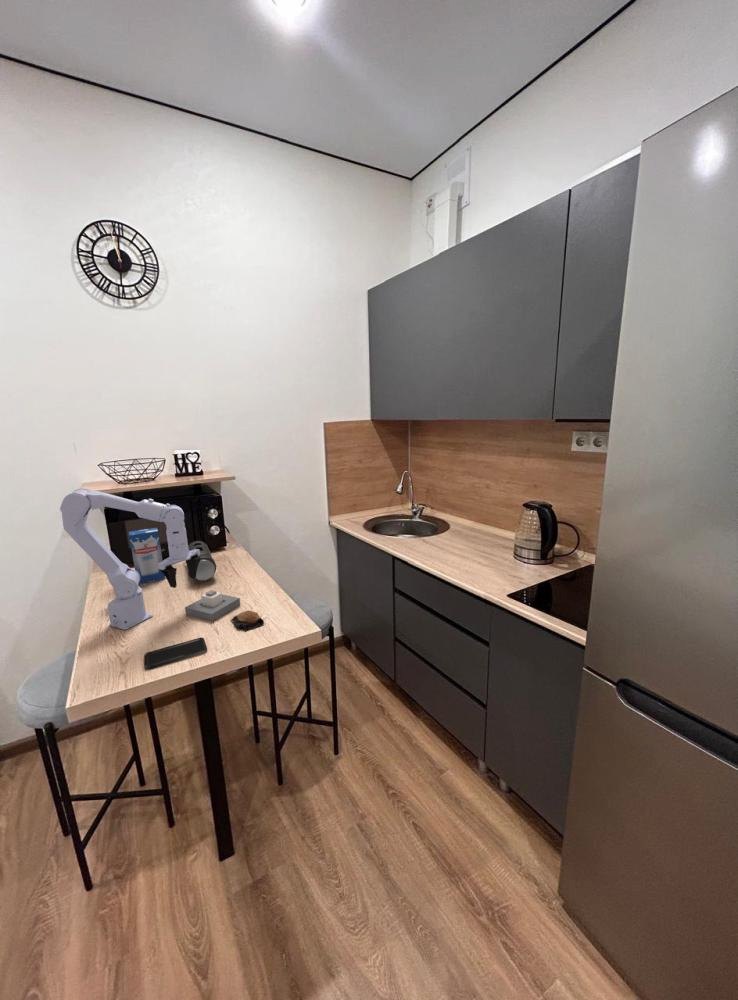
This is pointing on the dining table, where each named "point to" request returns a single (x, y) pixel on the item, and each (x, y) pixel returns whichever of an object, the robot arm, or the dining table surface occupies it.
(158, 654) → the phone
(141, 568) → the milk carton
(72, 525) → the robot arm
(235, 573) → the dining table surface
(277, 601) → the dining table surface
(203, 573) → the muzzle brake
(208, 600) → the plug
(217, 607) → the socket block
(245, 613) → the bread roll
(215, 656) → the dining table surface
